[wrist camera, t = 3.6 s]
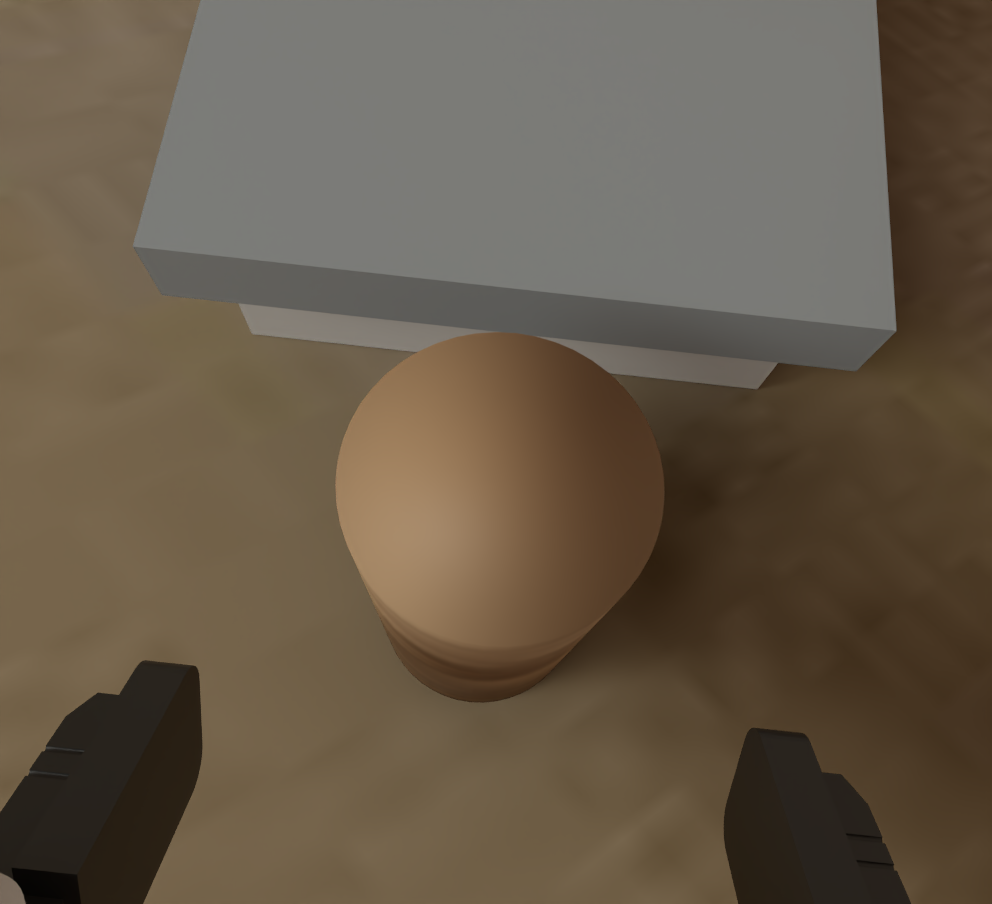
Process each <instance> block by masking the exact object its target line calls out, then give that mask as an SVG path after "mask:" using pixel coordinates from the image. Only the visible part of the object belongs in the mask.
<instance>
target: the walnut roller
mask: <svg viewBox="0 0 992 904" xmlns="http://www.w3.org/2000/svg"><path fill="white" fill-rule="evenodd" d="M335 484H336V504H337V510H338V515H339V521H340V525H341V528H342V531H343V534H344V537H345V540H346V543H347V546H348V548H349V550H350V553H351V555H352V557H353V559H354V561H355V564H356V566H357V568H358V570H359V573H360V575H361V577H362V579H363V581H364V584H365V586H366V588H367V590H368V593H369V595H370V597H371V599H372V602H373V604H374V606H375V608H376V610H377V613H378V615H379V617H380V619H381V622H382V624H383V626H384V628H385V630H386V633H387V635H388V637H389V639H390V642H391V644H392V646H393V648H394V650H395V652H396V654H397V656H398V657H399V659H400V660H401V661H402V663H403V664H404V666H405V667H406V668H407V669H408V670H409V671H410V673H411V674H412V675H413V676H415V677H416V678H417V679H418V680H419V681H420V682H421V683H423V684H424V685H426V686H427V687H429V688H430V689H432V690H434V691H436V692H438V693H440V694H442V695H444V696H447V697H450V698H453V699H457V700H462V701H467V702H492V701H499V700H503V699H507V698H510V697H513V696H515V695H518V694H520V693H522V692H524V691H526V690H528V689H530V688H531V687H533V686H534V685H536V684H537V683H538V682H540V681H541V680H542V679H543V678H544V677H545V676H546V675H547V674H548V673H549V672H550V671H551V670H552V669H553V668H554V667H555V666H556V665H557V664H558V663H559V662H560V661H561V660H562V659H563V658H564V657H565V656H566V655H567V654H568V653H569V652H570V651H571V650H572V649H573V647H574V646H575V645H576V644H577V643H578V642H579V641H580V640H581V639H582V638H583V637H584V636H585V635H586V634H587V633H588V632H589V631H590V630H591V629H592V628H593V627H594V626H595V624H596V623H597V622H598V621H599V620H600V619H601V618H602V617H603V616H604V615H605V614H606V613H607V612H608V611H609V610H610V609H611V608H612V607H613V606H614V605H615V604H616V603H617V601H618V600H619V599H620V598H621V597H622V596H623V595H624V594H625V593H626V592H627V591H628V589H629V588H630V587H631V586H632V584H633V583H634V582H635V580H636V579H637V578H638V577H639V575H640V573H641V572H642V570H643V568H644V566H645V565H646V563H647V561H648V559H649V558H650V555H651V553H652V550H653V548H654V545H655V543H656V540H657V538H658V534H659V530H660V526H661V522H662V518H663V509H664V499H665V492H664V474H663V468H662V462H661V456H660V453H659V450H658V447H657V443H656V440H655V437H654V435H653V433H652V431H651V428H650V426H649V424H648V422H647V420H646V418H645V416H644V415H643V413H642V412H641V410H640V408H639V407H638V405H637V404H636V402H635V401H634V400H633V398H632V397H631V396H630V395H629V393H628V392H627V391H626V390H625V389H624V387H623V386H622V385H621V384H620V383H619V382H618V381H617V380H616V379H615V378H613V377H612V376H611V375H610V374H609V373H608V372H607V371H606V370H604V369H603V368H602V367H600V366H599V365H598V364H596V363H595V362H594V361H592V360H591V359H589V358H587V357H585V356H584V355H582V354H580V353H578V352H577V351H575V350H573V349H570V348H568V347H566V346H563V345H561V344H559V343H556V342H553V341H550V340H546V339H543V338H540V337H536V336H530V335H524V334H519V333H505V332H489V333H475V334H470V335H465V336H459V337H455V338H452V339H448V340H445V341H442V342H439V343H436V344H434V345H432V346H429V347H427V348H425V349H423V350H421V351H418V352H417V353H415V354H413V355H412V356H410V357H409V358H407V359H405V360H404V361H402V362H401V363H399V364H398V365H397V366H396V367H394V368H393V369H392V370H391V371H389V372H388V373H387V374H386V375H385V376H384V377H383V378H382V379H381V380H380V381H379V382H378V383H377V384H376V385H375V386H374V387H373V388H372V389H371V390H370V392H369V393H368V394H367V396H366V397H365V398H364V400H363V401H362V402H361V404H360V405H359V407H358V409H357V410H356V412H355V414H354V416H353V418H352V420H351V421H350V423H349V426H348V428H347V431H346V433H345V436H344V439H343V441H342V445H341V449H340V453H339V457H338V462H337V471H336V482H335Z"/></svg>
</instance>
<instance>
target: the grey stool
mask: <svg viewBox="0 0 992 904" xmlns="http://www.w3.org/2000/svg"><path fill="white" fill-rule="evenodd" d="M133 247H134V249H135V251H136V252H137V254H138V256H139V257H140V259H141V261H142V262H143V264H144V266H145V267H146V269H147V271H148V272H149V274H150V276H151V277H152V279H153V281H154V282H155V284H156V286H157V287H158V289H159V291H160V292H161V294H162V295H167V296H176V297H185V298H194V299H203V300H212V301H221V302H230V303H238V304H239V306H240V308H241V310H242V313H243V315H244V317H245V319H246V321H247V324H248V326H249V328H250V330H251V333H252V334H257V335H266V336H275V337H284V338H293V339H303V340H312V341H321V342H330V343H339V344H348V345H357V346H366V347H376V348H385V349H394V350H403V351H412V352H418V351H421V350H423V349H425V348H427V347H429V346H432V345H434V344H436V343H439V342H442V341H445V340H448V339H452V338H455V337H459V336H465V335H470V334H475V333H489V332H505V333H519V334H524V335H530V336H536V337H540V338H543V339H546V340H550V341H553V342H556V343H559V344H561V345H563V346H566V347H568V348H570V349H573V350H575V351H577V352H578V353H580V354H582V355H584V356H585V357H587V358H589V359H591V360H592V361H594V362H595V363H596V364H598V365H599V366H600V367H602V368H603V369H604V370H606V371H607V372H608V373H613V374H622V375H631V376H640V377H649V378H658V379H667V380H676V381H686V382H695V383H704V384H713V385H722V386H731V387H740V388H749V389H758V388H759V387H760V385H761V384H762V383H763V381H764V380H765V379H766V378H767V376H768V375H769V374H770V373H771V371H772V370H773V369H774V368H775V366H776V365H777V364H778V363H785V364H794V365H803V366H812V367H821V368H830V369H839V370H848V371H857V370H858V369H859V368H860V367H861V366H862V365H863V364H864V363H865V362H866V361H867V360H868V359H869V358H870V357H871V356H872V355H873V354H874V353H875V352H876V351H877V350H878V349H879V348H880V347H881V346H882V345H883V344H884V343H885V342H886V341H887V340H888V339H889V338H890V337H891V336H892V335H893V334H894V333H895V332H896V314H895V298H894V282H893V265H892V249H891V233H890V217H889V200H888V184H887V168H886V152H885V135H884V119H883V103H882V86H881V70H880V54H879V38H878V21H877V5H876V0H201V1H200V4H199V8H198V12H197V15H196V19H195V23H194V26H193V30H192V34H191V37H190V41H189V44H188V48H187V52H186V55H185V59H184V63H183V66H182V70H181V73H180V77H179V81H178V84H177V88H176V92H175V95H174V99H173V103H172V106H171V110H170V113H169V117H168V121H167V124H166V128H165V132H164V135H163V139H162V143H161V146H160V150H159V153H158V157H157V161H156V164H155V168H154V172H153V175H152V179H151V183H150V186H149V190H148V193H147V197H146V201H145V204H144V208H143V212H142V215H141V219H140V223H139V226H138V230H137V233H136V237H135V241H134V244H133Z"/></svg>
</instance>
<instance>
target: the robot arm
mask: <svg viewBox="0 0 992 904" xmlns="http://www.w3.org/2000/svg"><path fill="white" fill-rule="evenodd" d="M201 758H202V726H201V703H200V681H199V672H198V669H197V667H196V666H192V665H183V664H174V663H164V662H155V661H146V660H145V661H142V662H141V663H140V664H139V665H138V666H137V667H136V669H135V670H134V672H133V673H132V675H131V677H130V678H129V680H128V681H127V683H126V685H125V686H124V688H123V689H122V691H121V693H120V694H119V695H114V694H105V693H97V694H96V695H94V696H93V697H91V698H90V699H89V700H87V701H86V702H85V703H83V704H82V705H81V706H79V707H78V708H77V709H75V710H74V711H73V712H71V713H70V714H69V715H67V716H66V717H65V719H64V720H63V721H62V723H61V724H60V726H59V727H58V729H57V730H56V732H55V733H54V735H53V736H52V738H51V739H50V741H49V742H48V743H47V745H46V749H45V751H44V752H43V751H42V752H41V754H40V755H39V757H38V758H37V760H36V761H35V762H34V764H33V765H32V767H31V768H30V772H29V775H28V776H25V777H24V779H23V780H22V782H21V783H20V784H19V786H18V787H17V789H16V790H15V792H14V793H13V795H12V796H11V798H10V799H9V801H8V802H7V804H6V805H5V806H4V808H3V809H2V811H1V812H0V904H143V902H144V900H145V898H146V896H147V894H148V891H149V889H150V887H151V885H152V882H153V880H154V878H155V876H156V873H157V871H158V869H159V867H160V864H161V862H162V860H163V858H164V856H165V853H166V851H167V849H168V847H169V844H170V842H171V840H172V838H173V835H174V833H175V831H176V829H177V826H178V824H179V822H180V820H181V818H182V815H183V813H184V811H185V809H186V806H187V804H188V802H189V800H190V797H191V795H192V793H193V790H194V788H195V785H196V782H197V778H198V774H199V770H200V765H201ZM724 841H725V848H726V853H727V858H728V862H729V866H730V870H731V874H732V879H733V883H734V887H735V891H736V896H737V900H738V904H911V902H910V900H909V898H908V895H907V893H906V891H905V888H904V886H903V884H902V882H901V879H900V877H899V875H898V872H897V871H894V867H893V866H894V863H893V861H892V859H891V856H890V854H889V852H888V849H887V847H886V845H885V844H884V843H882V836H881V833H880V831H879V829H878V826H877V824H876V822H875V819H874V817H873V815H872V813H871V810H870V808H869V806H868V804H867V803H866V802H865V801H864V799H863V798H862V797H861V796H860V795H859V794H858V793H857V792H856V790H855V789H854V788H853V787H852V786H851V785H850V784H849V783H848V782H847V780H846V779H845V778H844V777H843V776H842V775H841V774H832V773H822V772H821V769H820V766H819V764H818V761H817V759H816V756H815V754H814V751H813V748H812V746H811V743H810V741H809V739H808V738H807V736H806V735H805V734H803V733H797V732H787V731H778V730H769V729H760V728H751V729H750V730H749V731H748V733H747V735H746V738H745V741H744V744H743V748H742V751H741V755H740V758H739V762H738V765H737V769H736V772H735V775H734V779H733V782H732V786H731V789H730V793H729V796H728V800H727V803H726V808H725V815H724Z"/></svg>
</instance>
